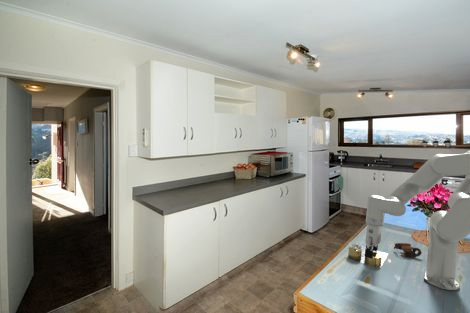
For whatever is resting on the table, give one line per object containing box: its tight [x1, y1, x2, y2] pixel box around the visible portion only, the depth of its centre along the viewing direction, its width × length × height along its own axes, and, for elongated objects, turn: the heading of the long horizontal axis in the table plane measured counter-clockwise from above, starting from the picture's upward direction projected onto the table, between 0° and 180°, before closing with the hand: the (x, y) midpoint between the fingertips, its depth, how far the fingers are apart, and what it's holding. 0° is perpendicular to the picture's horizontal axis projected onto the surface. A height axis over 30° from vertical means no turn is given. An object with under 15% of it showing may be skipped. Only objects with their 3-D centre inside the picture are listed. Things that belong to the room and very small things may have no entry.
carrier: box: [344, 243, 389, 270], centre depth 124 cm, size 20×16×6 cm
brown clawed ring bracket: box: [393, 242, 422, 259], centre depth 126 cm, size 12×10×8 cm
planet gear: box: [365, 252, 382, 267], centre depth 117 cm, size 7×7×4 cm
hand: (371, 253), depth 118 cm, fingers open, 9 cm apart
